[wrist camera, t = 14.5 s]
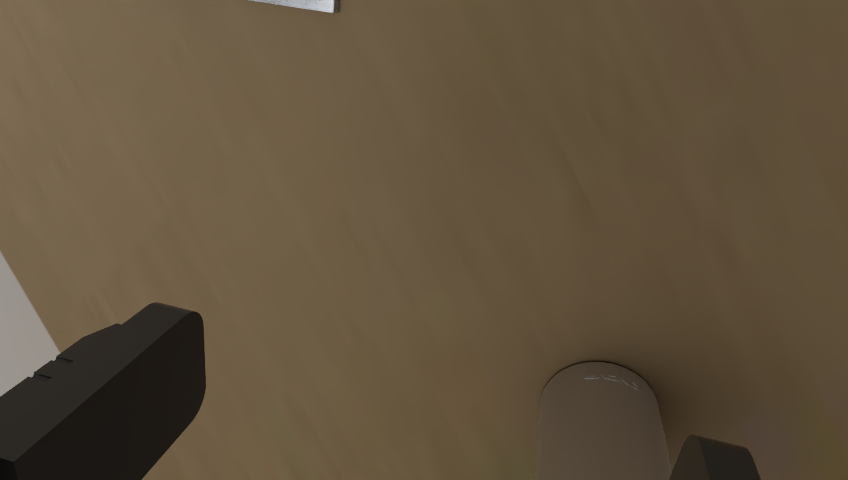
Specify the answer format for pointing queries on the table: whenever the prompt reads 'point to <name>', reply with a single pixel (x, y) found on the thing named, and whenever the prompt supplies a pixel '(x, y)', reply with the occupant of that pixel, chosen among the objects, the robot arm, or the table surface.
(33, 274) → the table surface
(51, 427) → the robot arm
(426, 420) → the table surface
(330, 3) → the collar
